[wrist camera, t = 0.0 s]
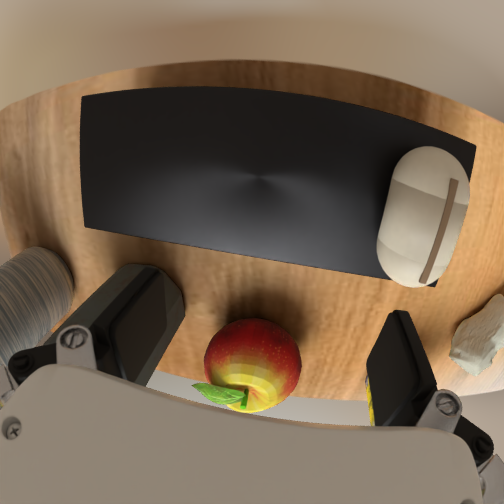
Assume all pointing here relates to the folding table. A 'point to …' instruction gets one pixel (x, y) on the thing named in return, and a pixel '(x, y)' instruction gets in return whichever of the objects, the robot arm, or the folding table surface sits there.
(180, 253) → the folding table surface
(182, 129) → the long dark rectangular box
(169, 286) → the bottle
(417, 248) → the cream rounded oblong block
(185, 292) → the folding table surface
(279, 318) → the folding table surface
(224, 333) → the fruit
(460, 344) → the decorative stone
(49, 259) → the vase
